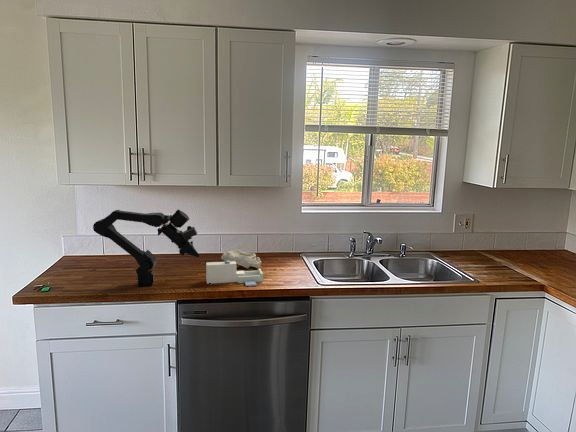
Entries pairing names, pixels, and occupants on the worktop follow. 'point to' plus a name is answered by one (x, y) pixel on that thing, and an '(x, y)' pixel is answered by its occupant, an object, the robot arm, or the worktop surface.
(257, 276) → the cradle
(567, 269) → the worktop surface
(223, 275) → the white stepped block
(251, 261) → the sculpture
